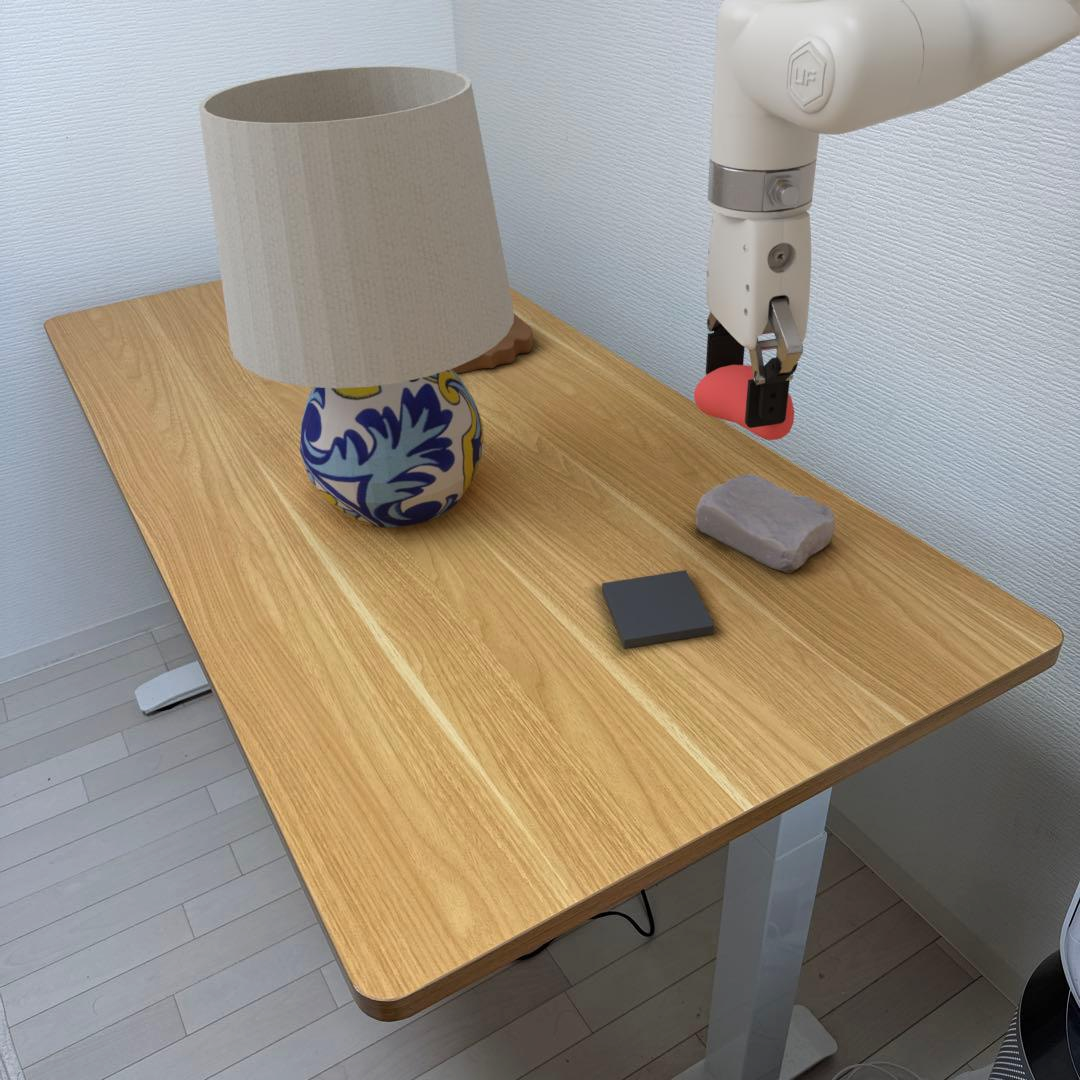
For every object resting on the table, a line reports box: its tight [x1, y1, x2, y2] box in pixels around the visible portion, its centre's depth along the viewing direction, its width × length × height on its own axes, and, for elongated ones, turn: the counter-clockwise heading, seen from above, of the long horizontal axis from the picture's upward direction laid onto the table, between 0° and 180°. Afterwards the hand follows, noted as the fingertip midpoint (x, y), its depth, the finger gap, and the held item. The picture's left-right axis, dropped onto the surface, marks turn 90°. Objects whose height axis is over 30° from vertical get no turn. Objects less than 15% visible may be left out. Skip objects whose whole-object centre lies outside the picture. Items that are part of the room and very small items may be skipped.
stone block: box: [694, 473, 836, 574], centre depth 94 cm, size 12×5×10 cm
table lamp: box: [198, 64, 515, 529], centre depth 92 cm, size 27×27×40 cm
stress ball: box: [693, 364, 795, 441], centre depth 80 cm, size 5×9×6 cm, turn 29°
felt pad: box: [601, 570, 715, 649], centre depth 85 cm, size 8×8×1 cm
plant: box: [452, 313, 534, 374], centre depth 131 cm, size 20×20×11 cm
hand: (743, 397), depth 80 cm, fingers closed on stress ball, 8 cm apart
